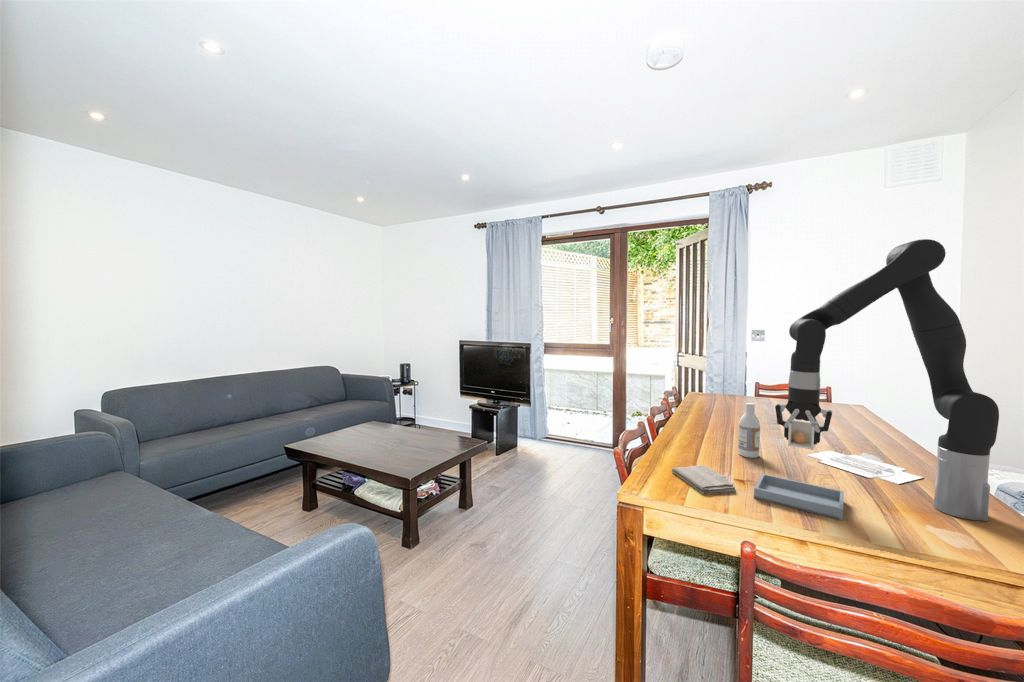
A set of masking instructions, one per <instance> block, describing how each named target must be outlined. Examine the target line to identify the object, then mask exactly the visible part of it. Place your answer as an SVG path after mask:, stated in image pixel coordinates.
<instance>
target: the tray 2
mask: <svg viewBox="0 0 1024 682" xmlns="http://www.w3.org/2000/svg"><path fill="white" fill-rule="evenodd" d="M806 456H807V457H810V458H813V459H817V460H819V461H818V463H821V464H824V465H828V466H831V467H835V468H838V469H841V470H844V471H847V472H850V473H852V474H856V475H859V476H863V477H865V478H868V479H869V480H870V479H879V480H883V481H886V482H889V483H891V484H896V485H900V484H903V483H909V482H912V481H915V480H916V481H917V480H919V479H924V477H923V476H920V475H915V474H912V473H909V472H907V469H906V468H903V467H899V466H896V465H892V464H889V463H885V462H884V461H883V460H882V459H880V458H879V457H878V456H875V455H872V454H870V453H866V452H865V451H864V452H862V453H861V454H859V455H857V454H851V455H850V454H849V455H848V454H843V453H839V452H837V451H833V450H826V451H819V452H816V453H810V454H806ZM905 471H906V472H905Z"/></svg>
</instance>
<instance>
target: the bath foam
mask: <svg viewBox="0 0 1024 682" xmlns="http://www.w3.org/2000/svg"><path fill="white" fill-rule="evenodd" d="M755 406H756V404H755V403H753V402H746V403H745V412H744V413H743V415H742V416H741V417H740V419H739V422H738V435H737V436H738V439H737V440H738V443H737V453H738V454H739V455H740V456H742V457H744V458H751V459H753V458H754V459H755V458H758V457H759V456H760V443H761V440H760V439H761V438H760V437H761V425H760V424H761V423H760V422H761V421H760V419H759V418H758V416H757V415H756V414H755V411H756V410H755V409H756V408H755Z"/></svg>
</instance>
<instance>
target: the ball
mask: <svg viewBox="0 0 1024 682" xmlns="http://www.w3.org/2000/svg"><path fill="white" fill-rule="evenodd" d="M793 439H794V441H796V442H797V443H803V442H805V441H806V436H805V435H804V434H803V433H801V432H797V433H795V434H794V435H793Z"/></svg>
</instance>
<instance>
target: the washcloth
mask: <svg viewBox="0 0 1024 682" xmlns="http://www.w3.org/2000/svg"><path fill="white" fill-rule="evenodd" d="M671 472H672V474H674V475H676V476H677V477H678V478H680V479H681V480H682V481H684V482H685V483H687V484H688V485H690V487H693V488H694V489H695V490H696V491H697V492H699V493H700V494H702V495H704V494H709V495H714V494H715V495H716V494H726V493H727V494H728V493H729V494H730V493H734V492H736V491H737V489H736V487H735V486H734V482H732V481H731V480H729V479H728V478H727V476H725V475H722V474H721V473H718V471H716V470H714V469H712V468H710V467H708V466H707V465H705V464H697V465H696V464H695V465H692V466H691V465H690V466H676V467H673V468H672V469H671Z"/></svg>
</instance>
